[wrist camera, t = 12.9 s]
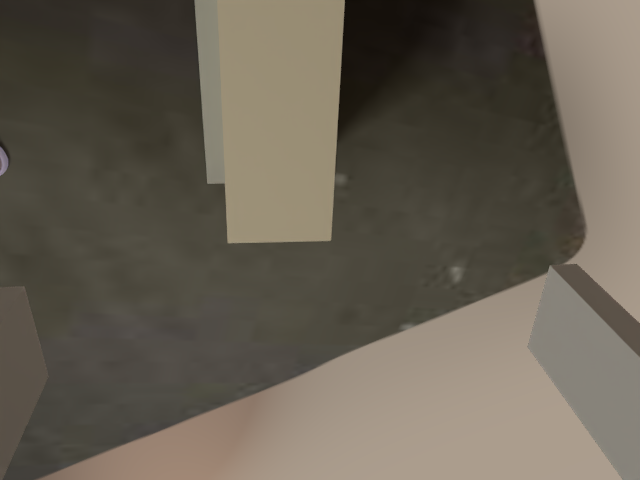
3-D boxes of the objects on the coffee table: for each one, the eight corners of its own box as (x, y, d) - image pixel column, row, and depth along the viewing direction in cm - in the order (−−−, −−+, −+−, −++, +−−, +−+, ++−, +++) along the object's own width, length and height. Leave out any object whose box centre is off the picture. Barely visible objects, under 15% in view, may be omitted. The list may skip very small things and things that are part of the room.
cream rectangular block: (219, -133, 27) (209, -171, 18) (318, -126, 28) (354, -160, 19) (231, 168, 35) (227, 243, 26) (308, 168, 35) (330, 240, 27)
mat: (184, -158, 27) (183, -160, 26) (343, -149, 28) (344, -150, 27) (207, 181, 35) (207, 183, 35) (329, 179, 36) (329, 181, 36)
